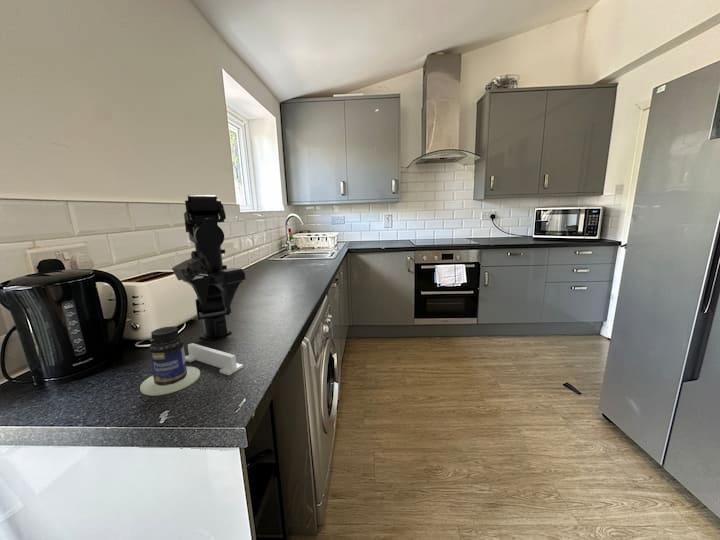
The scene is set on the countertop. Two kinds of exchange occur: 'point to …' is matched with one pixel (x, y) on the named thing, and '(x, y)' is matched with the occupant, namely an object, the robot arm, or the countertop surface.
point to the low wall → (213, 358)
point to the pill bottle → (167, 356)
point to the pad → (154, 390)
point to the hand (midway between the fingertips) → (215, 306)
